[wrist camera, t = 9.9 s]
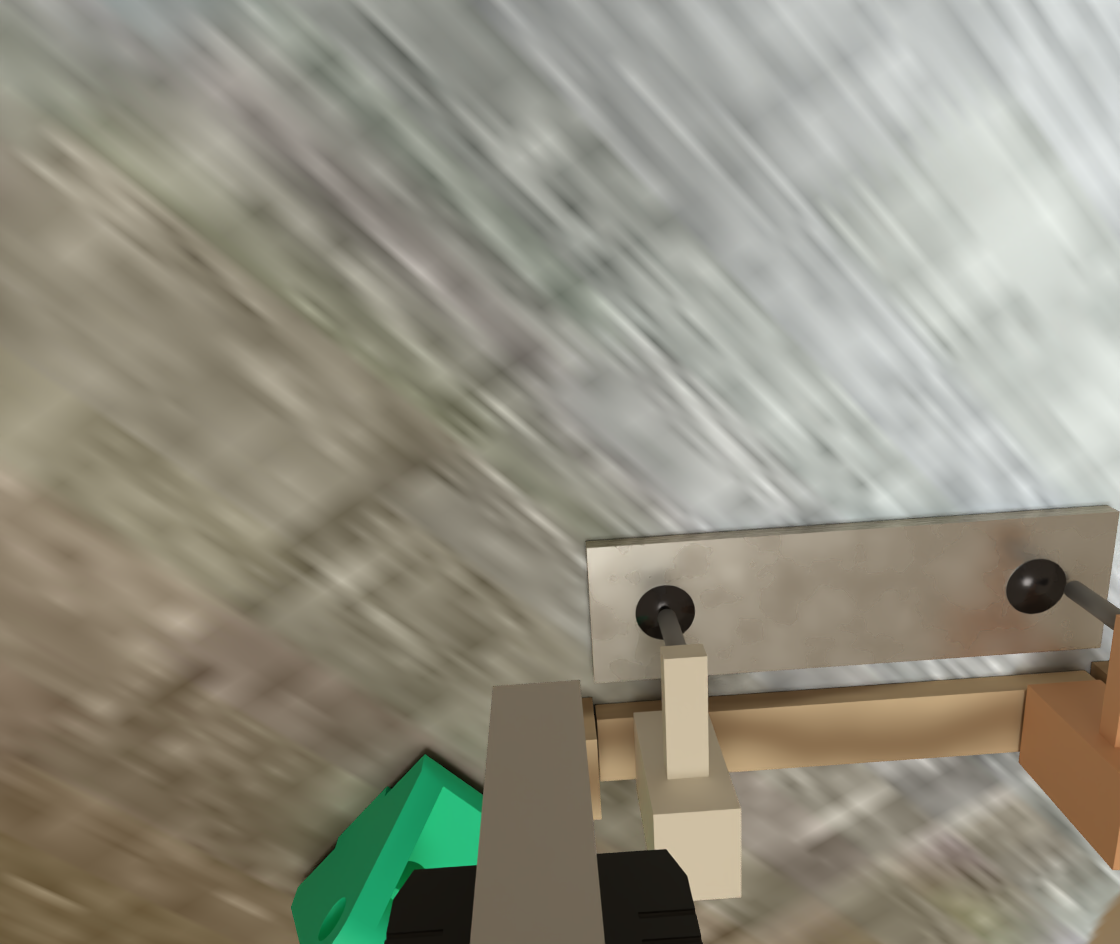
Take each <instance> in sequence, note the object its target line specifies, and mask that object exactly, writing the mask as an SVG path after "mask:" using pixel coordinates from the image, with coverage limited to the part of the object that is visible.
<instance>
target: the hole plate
mask: <svg viewBox="0 0 1120 944" xmlns="http://www.w3.org/2000/svg"><path fill="white" fill-rule="evenodd" d="M1118 519H1119V511H1118V510H1116V509H1114V508H1112V507H1110V506H1108V505H1103V506H1088V507H1074V508H1059V509H1045V510H1030V511H1016V512H1001V513H987V514H972V515H958V516H943V517H929V518H914V519H900V520H885V521H871V522H856V523H842V524H827V525H813V526H798V527H784V528H769V529H755V530H740V531H726V532H712V533H697V534H683V535H668V536H654V537H639V538H625V539H610V540H596V541H586V556H587V573H588V590H589V608H590V625H591V642H592V659H593V675H594V683H605V682H619V681H633V680H647V679H661V657H660V646H665V643H664V639H663V636H662V633H661V629H660V626H659V623H658V619H657V617H658V614H659V612H660V611H662V610H664V609H671V610H673V611H674V612H675V614H676V616H677V619H678V622H679V625H680V628H681V631H682V634H683V637H684V640H685V642H686V645H689V644H703V646H704V649H705V651H706V654H707V668H708V675H719V674H733V673H747V672H761V671H775V670H790V669H804V668H818V667H832V666H847V665H861V664H875V663H889V662H903V661H918V660H932V659H946V658H960V657H975V656H989V655H1003V654H1017V653H1031V652H1046V651H1060V650H1074V649H1088V648H1100V647H1101V640H1102V633H1103V625H1104V623H1103V622H1101V621H1100V620H1099V619H1097V618H1096V617H1095V616H1093V615H1092V614H1090V613H1089V612H1088V611H1086V610H1085V609H1084V608H1082V607H1081V606H1079V605H1078V604H1077V603H1075V602H1074V601H1073V600H1071V599H1070V598H1068V597H1067V596H1066V595H1065V594H1064V588H1065V586H1066V584H1067V583H1069V582H1071V581H1075V580H1076V581H1079V582H1081V583H1082V584H1084V585H1085V586H1087V587H1088V588H1090V589H1091V590H1092V591H1094V592H1095V593H1097V594H1098V595H1100V596H1101V597H1103V598H1104V599H1106V600H1107V597H1108V590H1109V583H1110V576H1111V569H1112V562H1113V554H1114V547H1115V540H1116V533H1117V526H1118Z"/></svg>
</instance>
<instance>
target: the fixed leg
mask: <svg viewBox="0 0 1120 944" xmlns="http://www.w3.org/2000/svg"><path fill="white" fill-rule="evenodd" d="M657 619H658V623H659V626H660V629H661V633H662V636H663V639H664V643H665V646H660V657H661V689H662V711H649V712H635V713H633V714H634V738H635V761H636V785H637V794H638V800H639V806H640V811H641V817H642V823H643V829H644V834H645V840H646V846H647V850H659V849H667V851H668V852H669V853H670V854H671V856H672V857H673V858H674V859H675V861H676V862H677V863H678V865H679V866H680V867H681V868H682V870H683V871H684V872H685V873H686V875H687V876H688V881H689V885H690V889H691V894H692V898H693V901H695V900H709V899H722V898H736V897H741V807H740V804H739V801H738V798H737V795H736V792H735V789H734V786H733V783H732V780H731V778H730V775H729V772H728V769H727V766H726V763H725V760H724V757H723V754H722V751H721V748H720V746H719V743H718V740H717V737H716V734H715V731H714V728H713V725H712V722H711V719H710V716H709V713H708V668H707V654H706V651H705V649H704V646H703V644H689V645H686V642H685V640H684V637H683V634H682V631H681V628H680V625H679V622H678V619H677V616H676V614H675V612H674V611H673V610H671V609H664V610H662V611H660V612H659V614H658V617H657Z"/></svg>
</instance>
